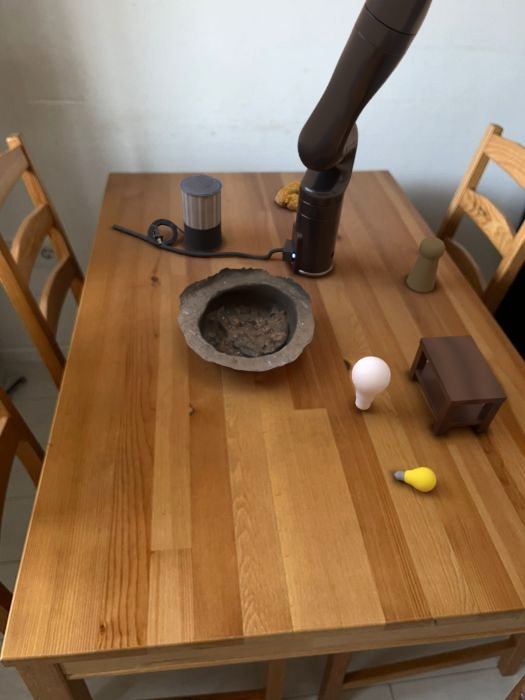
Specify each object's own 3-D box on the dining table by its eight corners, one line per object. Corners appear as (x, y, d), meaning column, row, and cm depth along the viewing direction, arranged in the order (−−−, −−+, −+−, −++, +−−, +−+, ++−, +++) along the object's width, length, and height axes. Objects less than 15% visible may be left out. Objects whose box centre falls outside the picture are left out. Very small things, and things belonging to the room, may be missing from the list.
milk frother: (230, 247, 120) (230, 188, 109) (169, 267, 113) (163, 206, 103) (200, 219, 128) (197, 162, 117) (142, 236, 121) (133, 177, 111)
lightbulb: (371, 427, 85) (385, 382, 77) (338, 410, 87) (348, 366, 79) (385, 403, 88) (400, 358, 81) (353, 388, 90) (364, 343, 83)
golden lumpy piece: (272, 194, 139) (273, 177, 135) (312, 194, 140) (314, 177, 137) (277, 213, 132) (278, 196, 128) (319, 212, 133) (321, 195, 130)
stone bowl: (247, 283, 110) (251, 248, 103) (335, 351, 99) (346, 316, 92) (151, 335, 97) (149, 298, 90) (241, 419, 86) (246, 385, 79)
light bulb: (435, 496, 76) (434, 488, 73) (394, 489, 78) (391, 481, 76) (438, 474, 77) (437, 466, 75) (397, 467, 80) (395, 460, 77)
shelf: (435, 436, 84) (451, 401, 77) (407, 373, 94) (420, 337, 87) (486, 432, 85) (507, 397, 79) (454, 370, 95) (470, 334, 88)
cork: (434, 294, 111) (450, 251, 103) (406, 289, 111) (419, 246, 104) (433, 277, 115) (448, 235, 107) (406, 273, 116) (419, 231, 108)
